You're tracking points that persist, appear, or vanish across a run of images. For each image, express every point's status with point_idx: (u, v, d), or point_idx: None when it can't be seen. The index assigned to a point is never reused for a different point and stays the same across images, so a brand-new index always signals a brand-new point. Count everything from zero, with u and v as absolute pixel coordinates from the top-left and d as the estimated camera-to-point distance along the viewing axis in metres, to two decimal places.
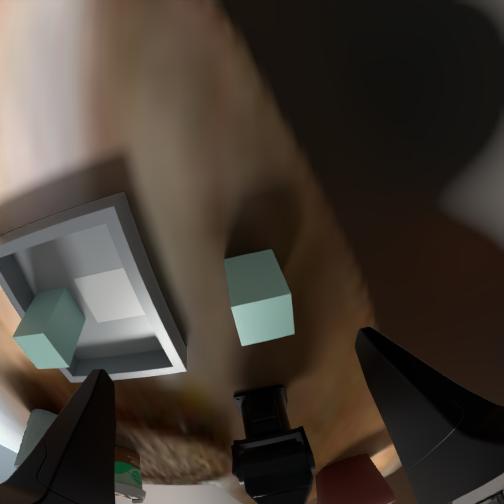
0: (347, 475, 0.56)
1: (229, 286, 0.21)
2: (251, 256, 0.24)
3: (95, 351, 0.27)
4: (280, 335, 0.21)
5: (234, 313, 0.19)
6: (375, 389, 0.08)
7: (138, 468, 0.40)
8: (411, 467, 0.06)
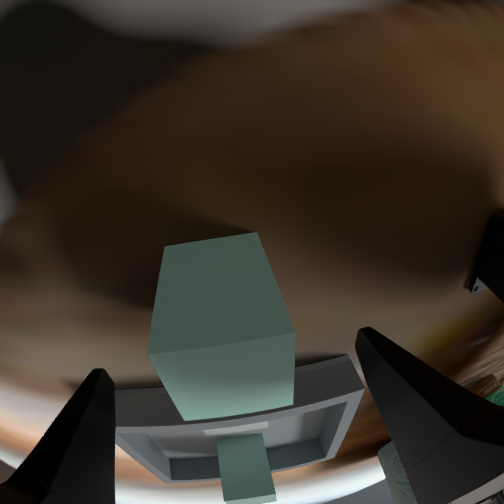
0: None
1: None
2: None
3: (311, 428, 0.23)
4: (287, 358, 0.08)
5: (200, 418, 0.09)
6: (375, 389, 0.08)
7: (496, 389, 0.28)
8: (412, 467, 0.06)
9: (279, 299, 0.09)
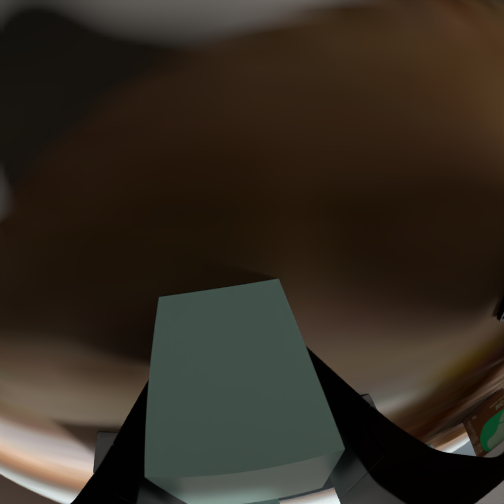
0: None
1: None
2: None
3: None
4: (327, 465, 0.05)
5: None
6: None
7: None
8: (342, 496, 0.06)
9: (320, 396, 0.06)
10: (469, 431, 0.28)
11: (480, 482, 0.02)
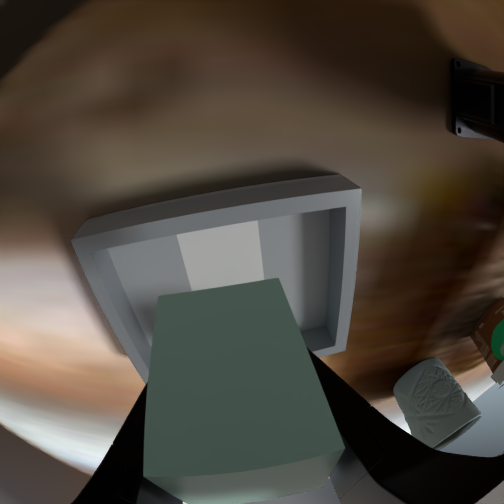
0: None
1: None
2: None
3: (315, 300, 0.23)
4: (327, 465, 0.05)
5: None
6: None
7: None
8: (342, 496, 0.06)
9: (320, 395, 0.06)
10: (478, 343, 0.31)
11: (480, 482, 0.02)
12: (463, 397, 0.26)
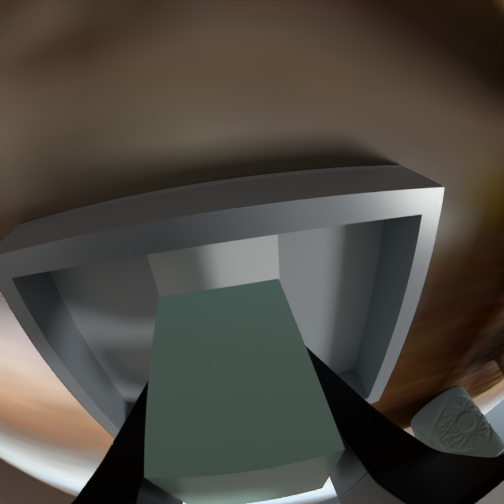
0: None
1: None
2: None
3: (347, 341, 0.16)
4: (327, 466, 0.05)
5: None
6: None
7: None
8: (342, 496, 0.06)
9: (320, 396, 0.06)
10: None
11: (480, 482, 0.02)
12: (488, 430, 0.20)
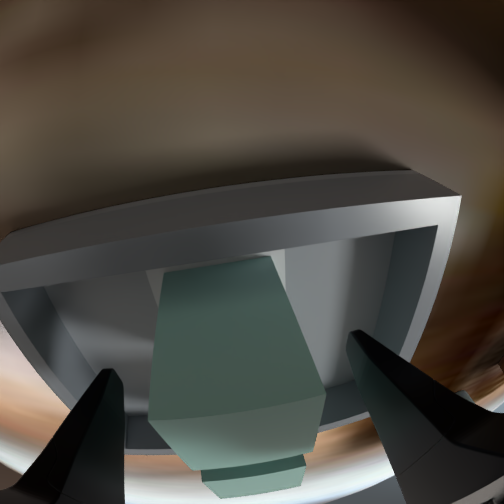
0: None
1: None
2: None
3: None
4: (313, 416, 0.06)
5: (209, 468, 0.07)
6: (365, 392, 0.08)
7: None
8: (402, 472, 0.06)
9: (304, 349, 0.07)
10: None
11: None
12: None
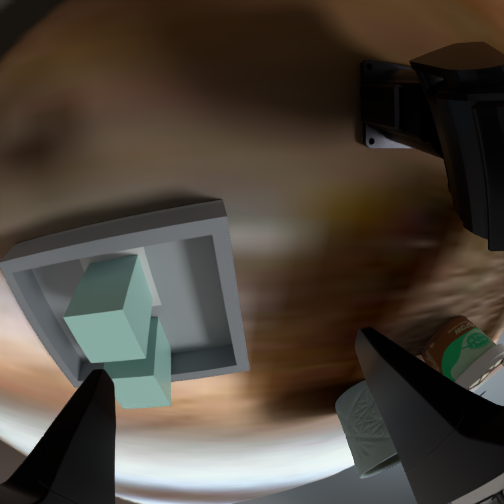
0: None
1: None
2: None
3: (215, 320, 0.24)
4: (125, 324, 0.15)
5: (98, 361, 0.16)
6: (375, 389, 0.08)
7: (469, 329, 0.30)
8: (411, 467, 0.06)
9: (125, 293, 0.16)
10: (429, 363, 0.33)
11: None
12: None
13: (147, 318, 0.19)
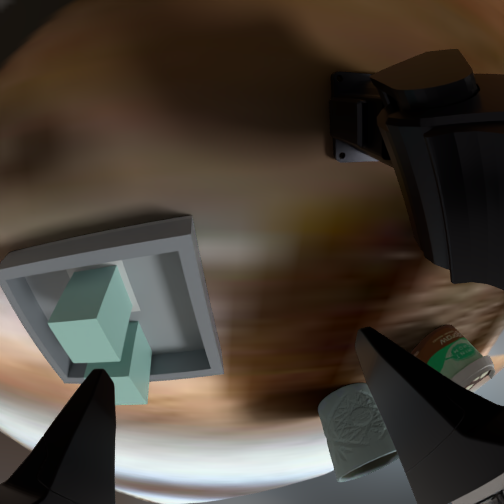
0: None
1: None
2: None
3: (191, 326, 0.25)
4: (100, 331, 0.16)
5: (79, 362, 0.17)
6: (375, 389, 0.08)
7: (455, 339, 0.30)
8: (412, 467, 0.06)
9: (100, 303, 0.17)
10: None
11: None
12: (385, 428, 0.28)
13: (124, 324, 0.20)
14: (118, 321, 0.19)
